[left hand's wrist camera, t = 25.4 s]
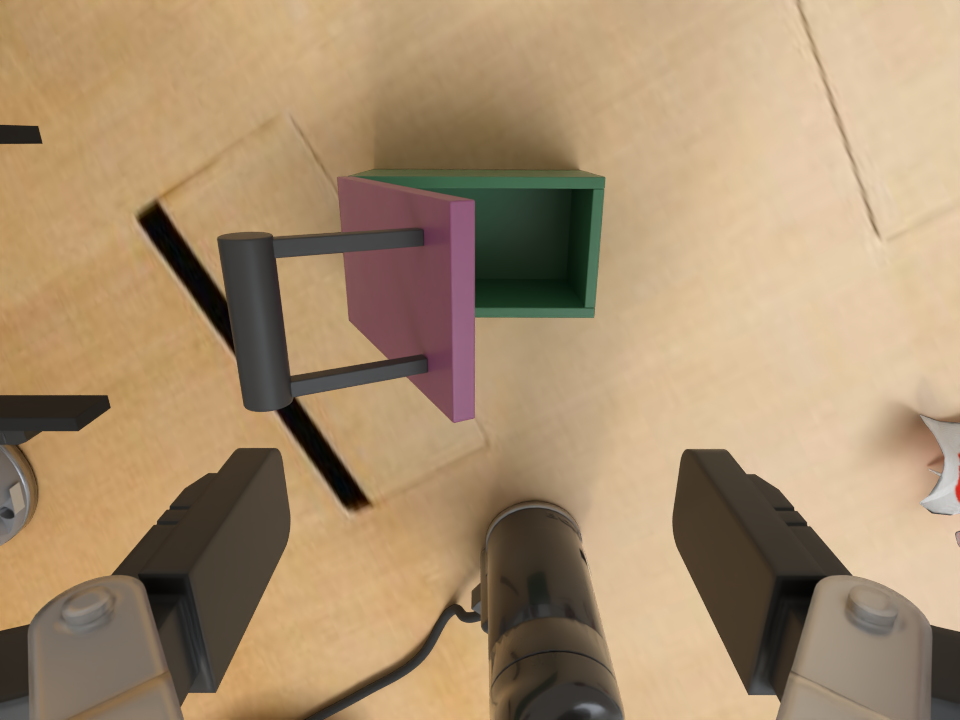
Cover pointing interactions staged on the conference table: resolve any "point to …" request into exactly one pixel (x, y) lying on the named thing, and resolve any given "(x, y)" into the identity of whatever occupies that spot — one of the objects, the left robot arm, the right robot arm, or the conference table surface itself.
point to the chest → (525, 236)
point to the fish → (946, 470)
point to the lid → (367, 296)
